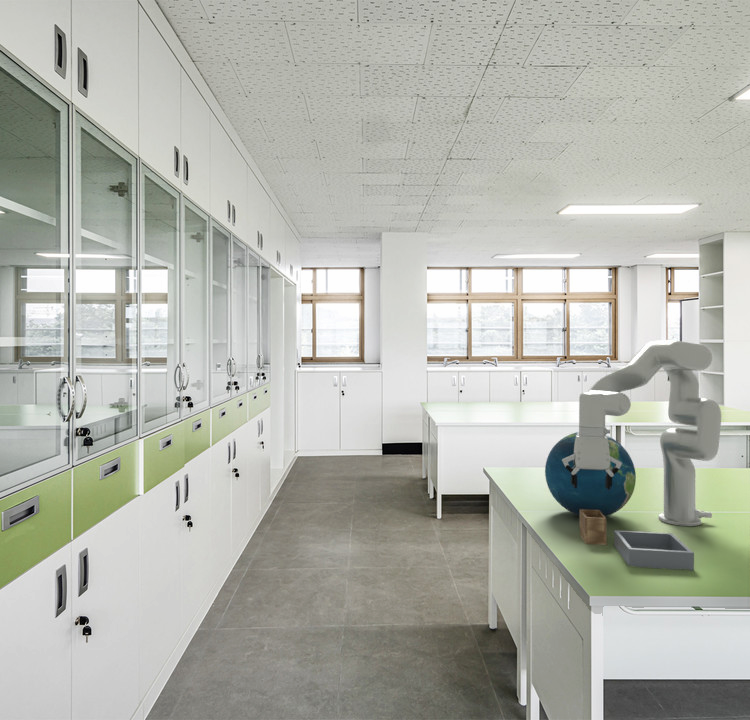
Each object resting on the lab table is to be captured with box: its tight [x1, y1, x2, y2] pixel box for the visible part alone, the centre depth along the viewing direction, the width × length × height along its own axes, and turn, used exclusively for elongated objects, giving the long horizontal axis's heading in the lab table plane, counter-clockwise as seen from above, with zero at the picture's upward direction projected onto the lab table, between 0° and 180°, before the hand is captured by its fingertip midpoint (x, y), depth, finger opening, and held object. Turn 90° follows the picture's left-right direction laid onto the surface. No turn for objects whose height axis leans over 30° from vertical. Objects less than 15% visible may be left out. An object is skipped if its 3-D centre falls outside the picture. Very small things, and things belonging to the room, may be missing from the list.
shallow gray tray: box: [613, 529, 695, 571], centre depth 151 cm, size 16×16×5 cm
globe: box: [544, 431, 637, 517], centre depth 190 cm, size 30×30×30 cm
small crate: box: [579, 509, 607, 546], centre depth 166 cm, size 6×9×8 cm, turn 170°
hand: (591, 487), depth 166 cm, fingers open, 9 cm apart
